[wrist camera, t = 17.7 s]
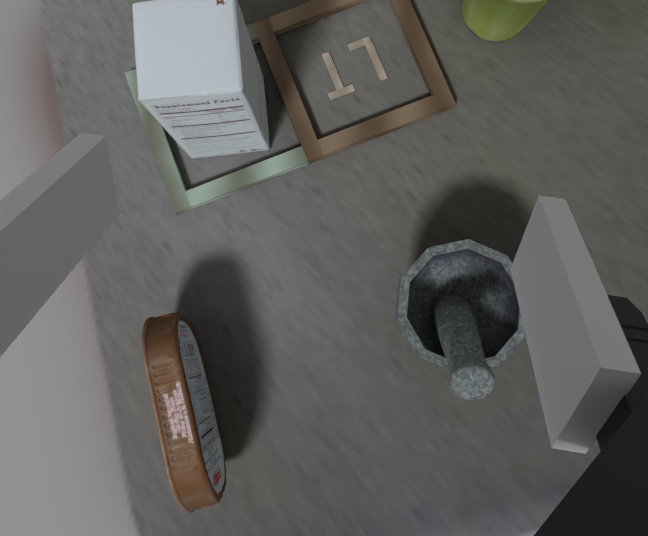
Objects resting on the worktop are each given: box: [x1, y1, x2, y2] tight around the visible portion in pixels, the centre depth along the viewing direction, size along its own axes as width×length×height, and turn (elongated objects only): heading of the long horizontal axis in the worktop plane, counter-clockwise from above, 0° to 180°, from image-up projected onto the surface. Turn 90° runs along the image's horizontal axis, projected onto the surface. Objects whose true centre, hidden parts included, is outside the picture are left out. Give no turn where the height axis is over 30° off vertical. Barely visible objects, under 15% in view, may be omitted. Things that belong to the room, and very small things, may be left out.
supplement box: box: [132, 0, 270, 158], centre depth 42 cm, size 7×7×13 cm
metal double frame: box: [125, 0, 456, 215], centre depth 48 cm, size 26×14×1 cm, turn 111°
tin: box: [142, 313, 226, 513], centre depth 41 cm, size 15×3×8 cm, turn 15°
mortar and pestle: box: [395, 239, 526, 401], centre depth 39 cm, size 11×9×12 cm
